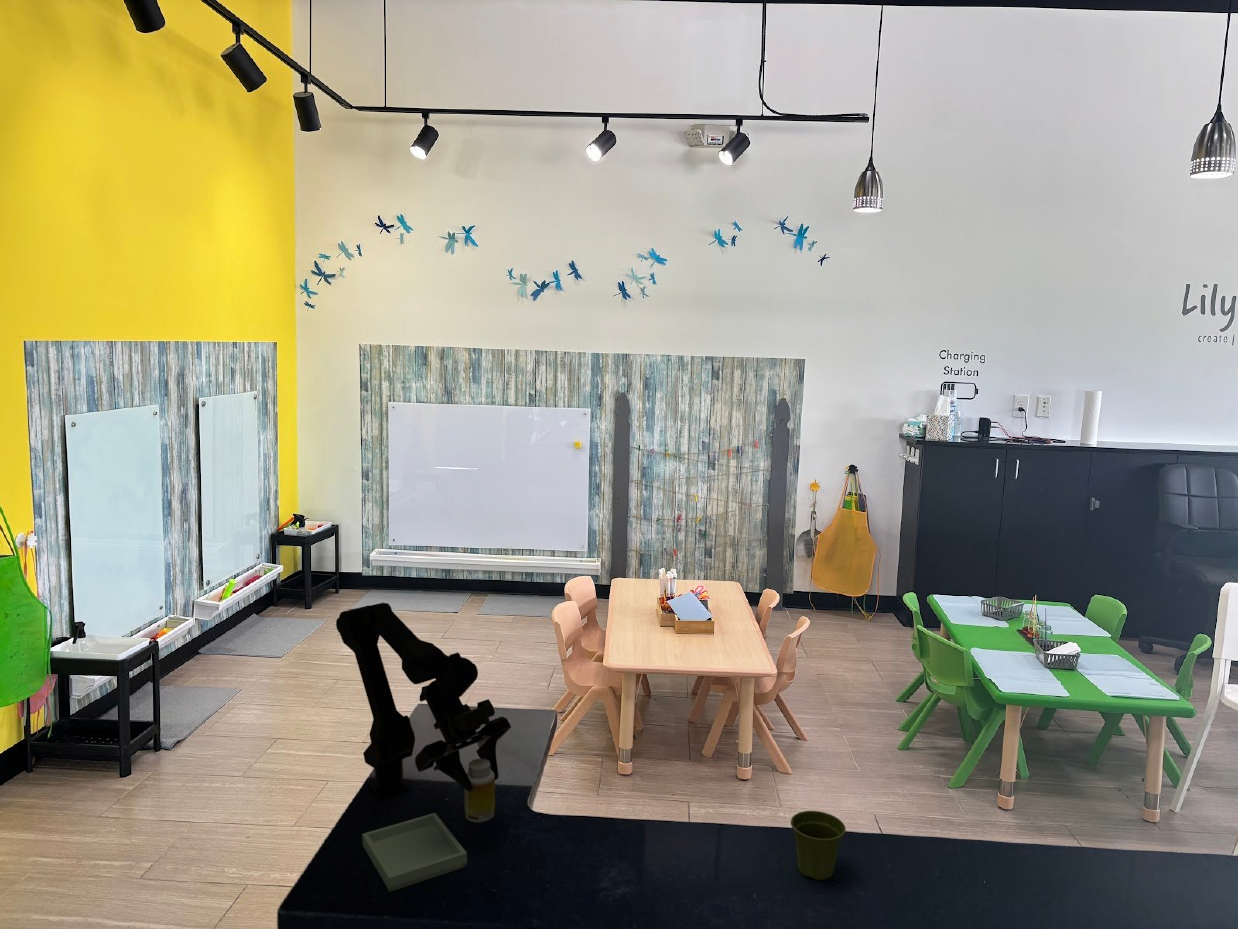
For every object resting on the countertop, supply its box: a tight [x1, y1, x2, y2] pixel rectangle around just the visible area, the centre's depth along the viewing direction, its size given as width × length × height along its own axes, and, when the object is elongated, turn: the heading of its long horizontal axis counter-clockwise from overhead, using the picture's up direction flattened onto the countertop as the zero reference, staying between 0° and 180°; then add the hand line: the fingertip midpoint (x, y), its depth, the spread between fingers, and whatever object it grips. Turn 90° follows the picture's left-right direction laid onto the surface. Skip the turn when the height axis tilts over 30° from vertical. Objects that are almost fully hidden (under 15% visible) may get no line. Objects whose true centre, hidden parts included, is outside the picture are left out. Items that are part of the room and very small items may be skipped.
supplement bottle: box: [463, 758, 496, 823], centre depth 158 cm, size 6×6×10 cm
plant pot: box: [790, 810, 847, 881], centre depth 151 cm, size 9×9×9 cm
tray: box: [362, 812, 468, 893], centre depth 155 cm, size 16×14×2 cm
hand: (484, 784), depth 157 cm, fingers closed on supplement bottle, 6 cm apart
